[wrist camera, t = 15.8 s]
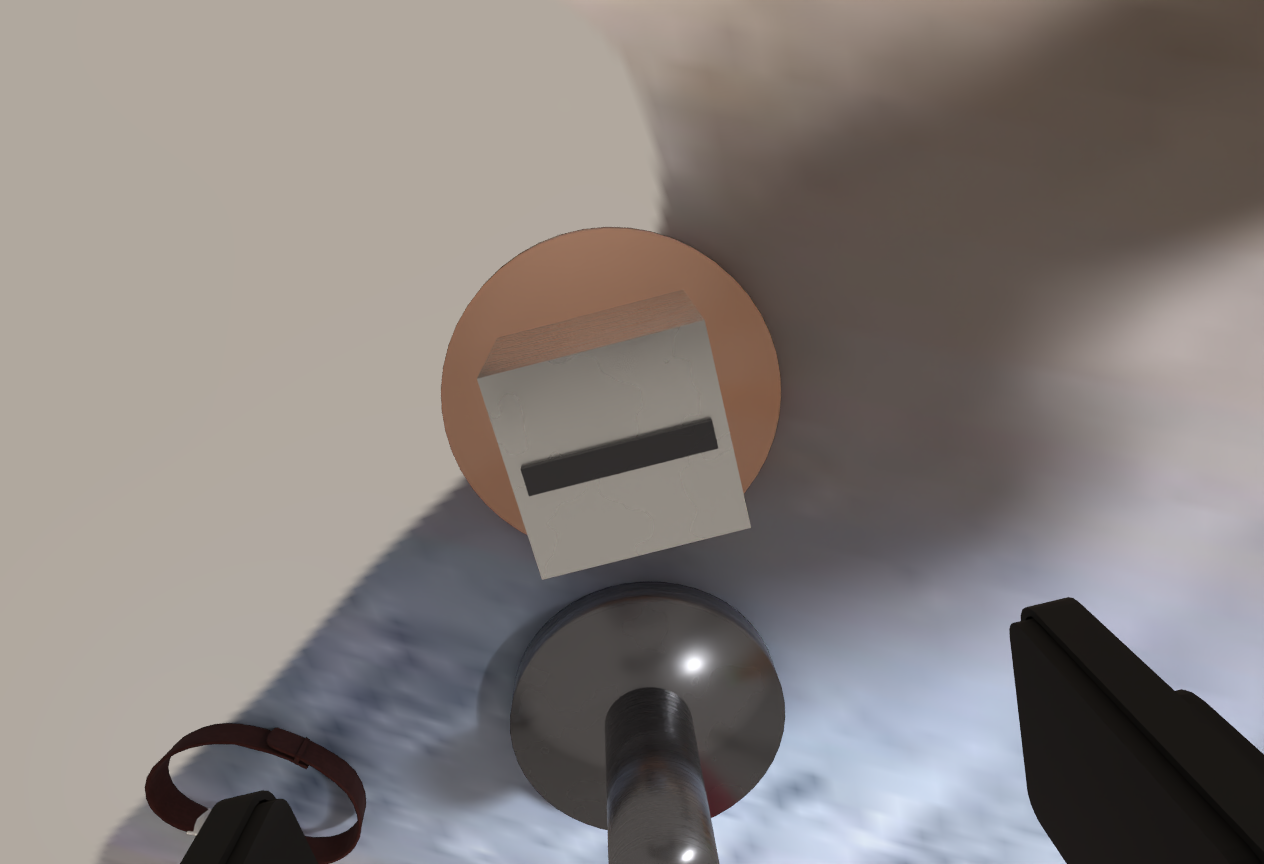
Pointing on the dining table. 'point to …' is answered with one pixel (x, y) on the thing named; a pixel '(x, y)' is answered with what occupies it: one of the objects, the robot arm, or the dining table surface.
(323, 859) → the watch
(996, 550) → the dining table surface
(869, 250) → the dining table surface
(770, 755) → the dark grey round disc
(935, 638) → the dining table surface
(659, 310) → the slotted metal cube
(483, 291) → the coaster
